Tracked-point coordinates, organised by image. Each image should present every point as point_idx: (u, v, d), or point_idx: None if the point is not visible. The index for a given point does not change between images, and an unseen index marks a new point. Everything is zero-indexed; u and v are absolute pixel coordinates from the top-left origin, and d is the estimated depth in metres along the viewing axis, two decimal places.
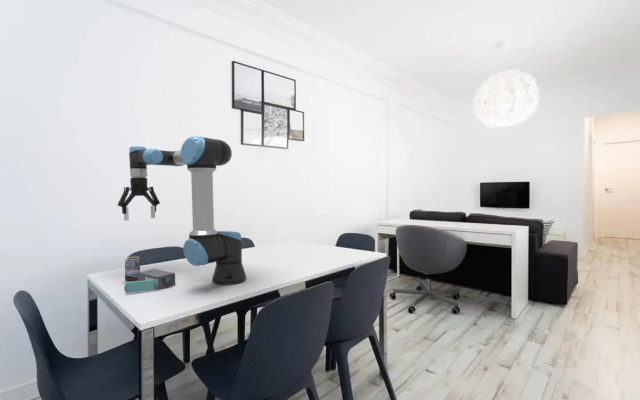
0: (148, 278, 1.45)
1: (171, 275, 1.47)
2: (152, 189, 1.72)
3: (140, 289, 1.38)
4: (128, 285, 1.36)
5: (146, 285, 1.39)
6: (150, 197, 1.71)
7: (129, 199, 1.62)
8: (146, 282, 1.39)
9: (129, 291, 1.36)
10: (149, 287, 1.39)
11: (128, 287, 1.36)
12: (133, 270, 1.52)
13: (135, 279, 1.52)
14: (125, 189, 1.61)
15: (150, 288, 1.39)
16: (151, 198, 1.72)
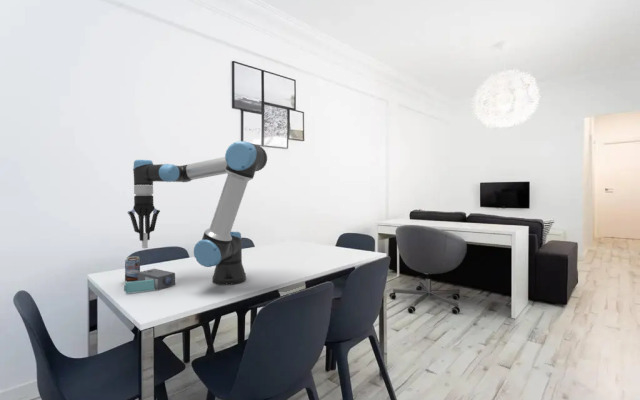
0: (148, 278, 1.45)
1: (171, 275, 1.47)
2: (157, 212, 1.50)
3: (140, 289, 1.38)
4: (128, 285, 1.36)
5: (146, 285, 1.39)
6: (149, 221, 1.47)
7: (141, 224, 1.45)
8: (146, 282, 1.39)
9: (129, 291, 1.36)
10: (149, 287, 1.39)
11: (128, 287, 1.36)
12: (133, 270, 1.52)
13: (135, 279, 1.52)
14: (129, 214, 1.43)
15: (150, 288, 1.39)
16: (149, 223, 1.47)
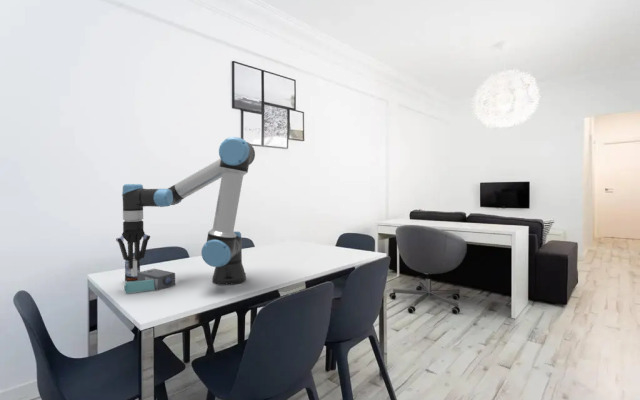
0: (148, 278, 1.45)
1: (171, 275, 1.47)
2: (147, 238, 1.43)
3: (140, 289, 1.38)
4: (128, 285, 1.36)
5: (146, 285, 1.39)
6: (138, 248, 1.41)
7: (130, 251, 1.38)
8: (146, 282, 1.39)
9: (129, 291, 1.36)
10: (149, 287, 1.39)
11: (128, 287, 1.36)
12: None
13: (135, 279, 1.52)
14: (118, 242, 1.36)
15: (150, 288, 1.39)
16: (139, 249, 1.41)
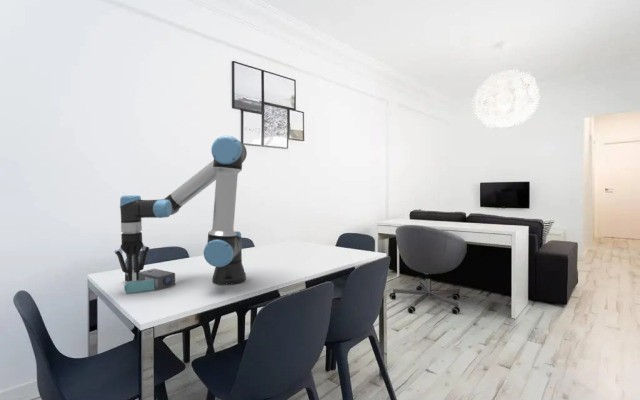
0: (148, 278, 1.45)
1: (171, 275, 1.47)
2: (146, 250, 1.42)
3: (140, 289, 1.38)
4: (128, 285, 1.36)
5: (146, 285, 1.39)
6: (137, 260, 1.39)
7: (129, 263, 1.37)
8: (146, 282, 1.39)
9: (129, 291, 1.36)
10: (149, 287, 1.39)
11: (128, 287, 1.36)
12: (133, 270, 1.52)
13: None
14: (116, 254, 1.34)
15: (150, 288, 1.39)
16: (138, 261, 1.39)
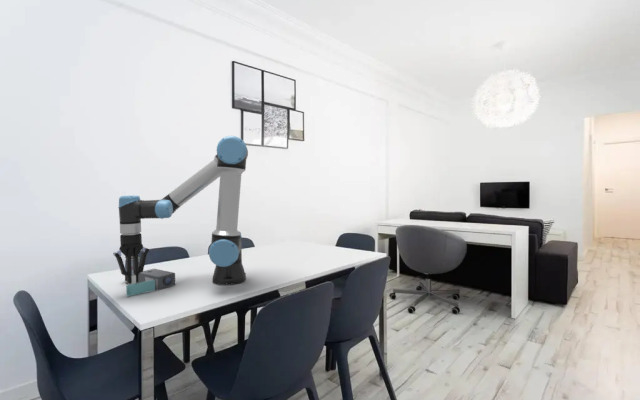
0: (148, 278, 1.45)
1: (171, 275, 1.47)
2: (146, 251, 1.38)
3: (141, 290, 1.36)
4: (130, 288, 1.33)
5: (147, 285, 1.37)
6: (137, 262, 1.35)
7: (128, 265, 1.33)
8: (147, 283, 1.38)
9: (131, 294, 1.33)
10: (150, 288, 1.38)
11: (130, 290, 1.33)
12: None
13: None
14: (115, 256, 1.30)
15: (151, 288, 1.39)
16: (137, 263, 1.35)
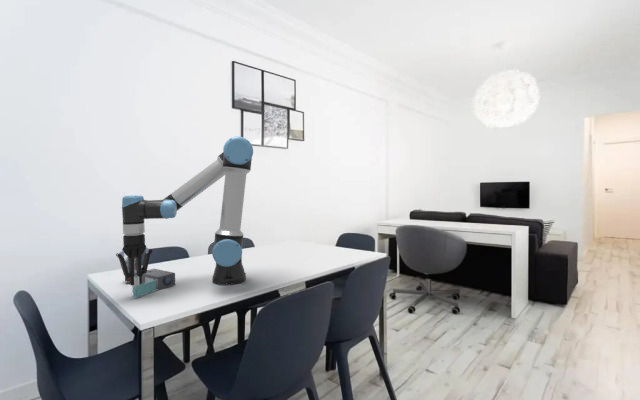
0: (148, 278, 1.45)
1: (171, 275, 1.47)
2: (149, 252, 1.35)
3: (146, 291, 1.35)
4: (137, 289, 1.31)
5: (150, 286, 1.37)
6: (140, 263, 1.33)
7: (131, 266, 1.30)
8: (150, 283, 1.37)
9: (138, 295, 1.31)
10: (152, 288, 1.38)
11: (137, 291, 1.31)
12: None
13: None
14: (118, 257, 1.28)
15: (153, 289, 1.38)
16: (141, 264, 1.33)
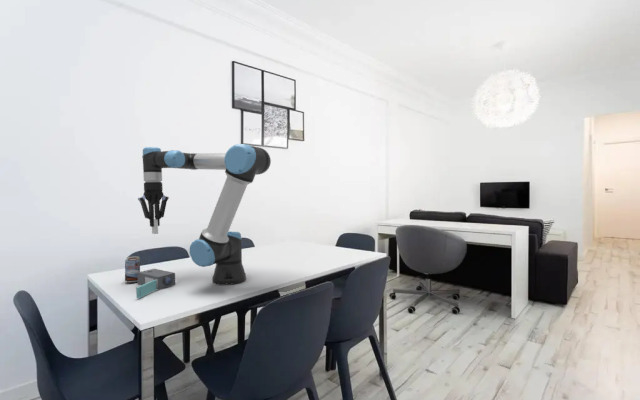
0: (148, 278, 1.45)
1: (171, 275, 1.47)
2: (166, 199, 1.54)
3: (148, 291, 1.35)
4: (140, 289, 1.30)
5: (151, 286, 1.37)
6: (158, 207, 1.51)
7: (151, 210, 1.48)
8: (151, 283, 1.37)
9: (141, 295, 1.31)
10: (153, 288, 1.38)
11: (140, 291, 1.30)
12: (133, 270, 1.52)
13: (135, 279, 1.52)
14: (140, 201, 1.46)
15: (154, 289, 1.38)
16: (159, 209, 1.51)
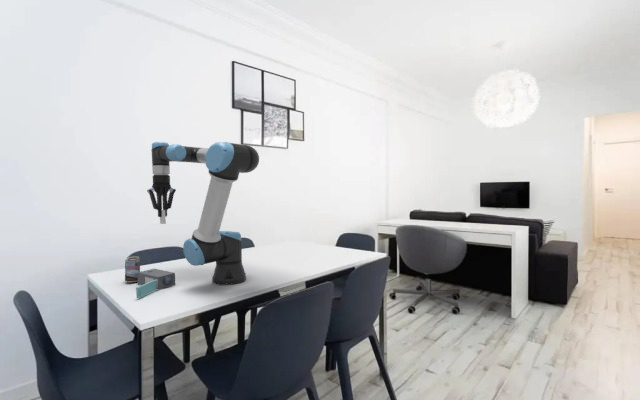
0: (148, 278, 1.45)
1: (171, 275, 1.47)
2: (173, 191, 1.63)
3: (148, 291, 1.35)
4: (140, 289, 1.30)
5: (151, 286, 1.37)
6: (166, 199, 1.60)
7: (159, 201, 1.58)
8: (151, 283, 1.37)
9: (141, 295, 1.31)
10: (153, 288, 1.38)
11: (140, 291, 1.30)
12: (133, 270, 1.52)
13: (135, 279, 1.52)
14: (149, 192, 1.55)
15: (154, 289, 1.38)
16: (166, 200, 1.60)
